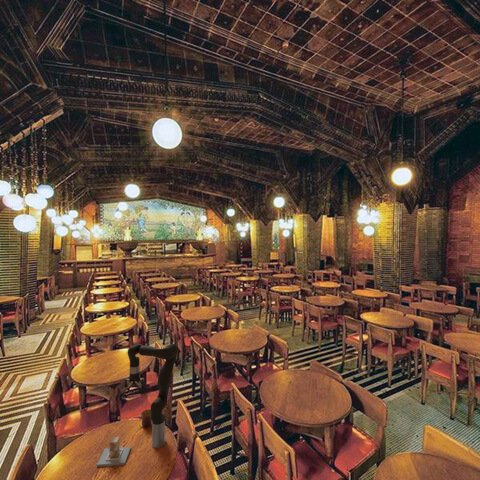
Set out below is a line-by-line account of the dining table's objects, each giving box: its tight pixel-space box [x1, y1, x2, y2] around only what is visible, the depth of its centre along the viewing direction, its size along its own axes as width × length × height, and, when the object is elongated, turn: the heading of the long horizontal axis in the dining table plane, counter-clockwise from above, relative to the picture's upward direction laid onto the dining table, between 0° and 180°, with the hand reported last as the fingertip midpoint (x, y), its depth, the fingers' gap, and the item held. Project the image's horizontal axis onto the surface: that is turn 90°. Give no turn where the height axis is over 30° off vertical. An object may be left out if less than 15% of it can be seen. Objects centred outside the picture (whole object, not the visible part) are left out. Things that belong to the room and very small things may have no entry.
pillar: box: [108, 436, 120, 458], centre depth 189 cm, size 5×5×11 cm
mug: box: [140, 408, 152, 429], centre depth 223 cm, size 12×9×10 cm
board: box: [96, 446, 132, 468], centre depth 189 cm, size 18×14×2 cm
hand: (134, 392), depth 210 cm, fingers open, 8 cm apart
